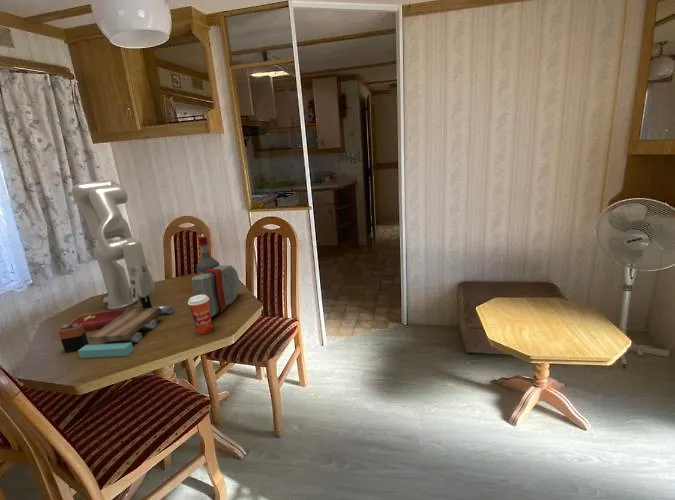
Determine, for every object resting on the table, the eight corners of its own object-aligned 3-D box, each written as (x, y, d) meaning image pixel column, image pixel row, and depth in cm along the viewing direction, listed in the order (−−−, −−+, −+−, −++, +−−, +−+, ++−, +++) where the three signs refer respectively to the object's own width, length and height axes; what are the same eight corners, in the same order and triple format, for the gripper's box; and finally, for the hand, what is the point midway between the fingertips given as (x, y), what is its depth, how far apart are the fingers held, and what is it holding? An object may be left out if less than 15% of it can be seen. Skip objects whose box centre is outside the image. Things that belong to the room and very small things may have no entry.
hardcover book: (121, 327, 156) (119, 318, 155) (68, 335, 153) (65, 326, 151) (131, 315, 167) (129, 307, 166) (81, 323, 164) (79, 314, 163)
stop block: (80, 358, 132) (77, 350, 131) (88, 352, 136) (85, 345, 135) (126, 355, 130) (124, 348, 129) (133, 349, 134) (131, 342, 133)
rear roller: (138, 317, 164) (136, 309, 163) (143, 313, 167) (141, 305, 167) (170, 315, 162) (168, 307, 161) (174, 311, 166) (173, 303, 165)
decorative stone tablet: (203, 276, 145) (238, 260, 174) (188, 277, 146) (226, 260, 175) (209, 322, 148) (243, 299, 177) (195, 322, 150) (231, 299, 178)
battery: (70, 347, 141) (62, 324, 138) (89, 344, 142) (82, 320, 139) (64, 353, 137) (56, 329, 134) (84, 349, 138) (77, 325, 135)
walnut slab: (90, 341, 135) (89, 337, 134) (130, 313, 158) (129, 309, 157) (126, 340, 133) (124, 335, 133) (161, 311, 156) (160, 307, 156)
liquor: (218, 291, 186) (206, 234, 178) (227, 295, 179) (215, 236, 171) (201, 297, 179) (188, 238, 171) (209, 301, 173) (197, 240, 165)
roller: (142, 339, 142) (141, 330, 141) (136, 343, 138) (135, 334, 138) (107, 341, 143) (105, 332, 143) (100, 345, 140) (98, 336, 139)
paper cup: (195, 337, 139) (188, 303, 135) (193, 329, 145) (186, 297, 142) (216, 331, 142) (210, 298, 138) (213, 324, 149) (207, 292, 145)
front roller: (118, 332, 150) (116, 324, 149) (124, 327, 154) (121, 319, 153) (153, 330, 149) (150, 322, 148) (158, 325, 153) (155, 317, 151)
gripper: (135, 275, 146) (146, 316, 151) (155, 263, 160) (165, 301, 165) (118, 276, 147) (129, 317, 152) (139, 264, 161) (149, 302, 166)
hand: (147, 309), depth 158 cm, fingers closed
